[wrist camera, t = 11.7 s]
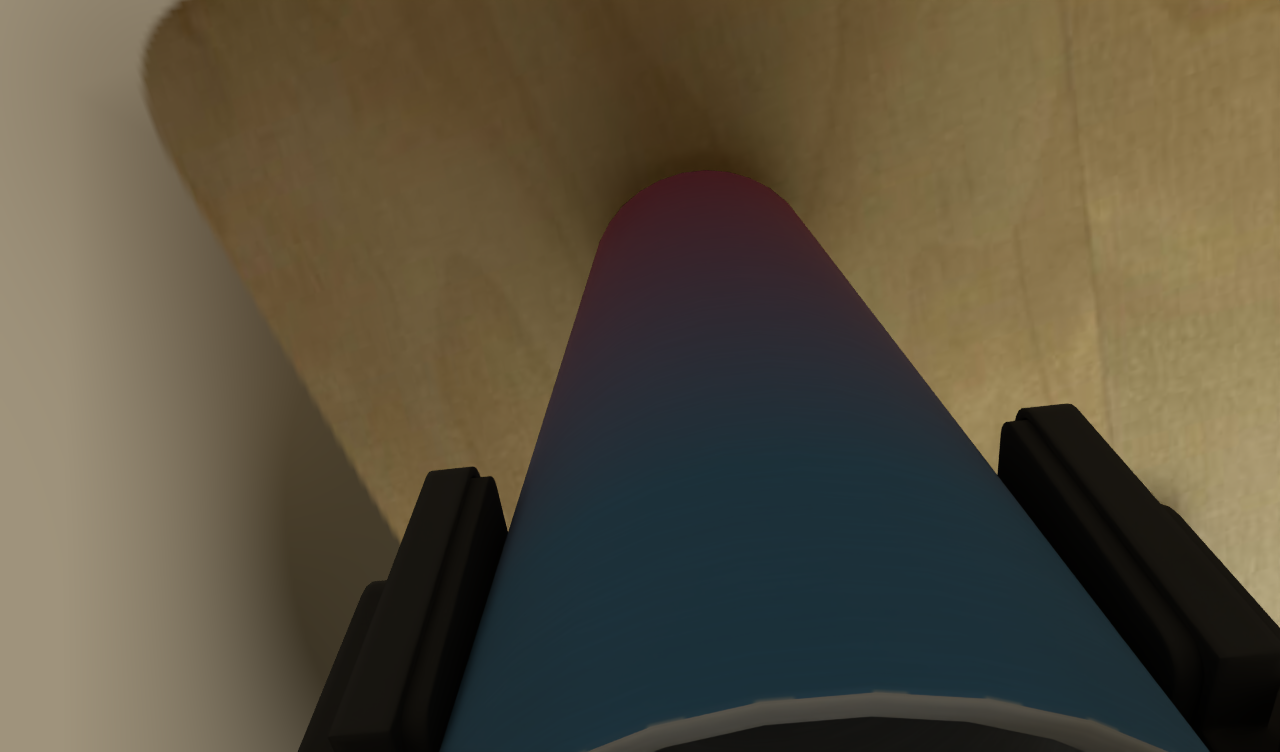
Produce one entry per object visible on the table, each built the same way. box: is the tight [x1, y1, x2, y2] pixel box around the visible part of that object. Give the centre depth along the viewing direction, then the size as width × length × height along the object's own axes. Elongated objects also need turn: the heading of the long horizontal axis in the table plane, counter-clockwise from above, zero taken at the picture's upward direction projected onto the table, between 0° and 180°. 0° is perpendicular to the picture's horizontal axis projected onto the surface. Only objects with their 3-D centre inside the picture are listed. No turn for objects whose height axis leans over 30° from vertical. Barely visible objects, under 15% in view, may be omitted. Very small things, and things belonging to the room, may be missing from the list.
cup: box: [439, 170, 1210, 752], centre depth 13 cm, size 7×7×15 cm
